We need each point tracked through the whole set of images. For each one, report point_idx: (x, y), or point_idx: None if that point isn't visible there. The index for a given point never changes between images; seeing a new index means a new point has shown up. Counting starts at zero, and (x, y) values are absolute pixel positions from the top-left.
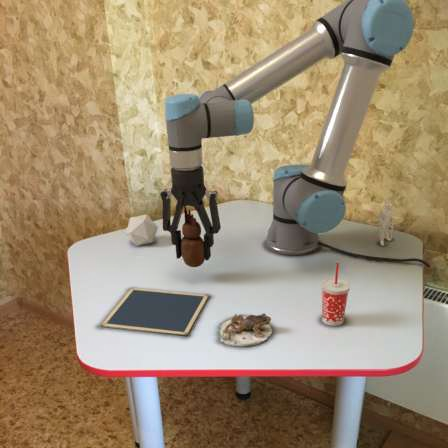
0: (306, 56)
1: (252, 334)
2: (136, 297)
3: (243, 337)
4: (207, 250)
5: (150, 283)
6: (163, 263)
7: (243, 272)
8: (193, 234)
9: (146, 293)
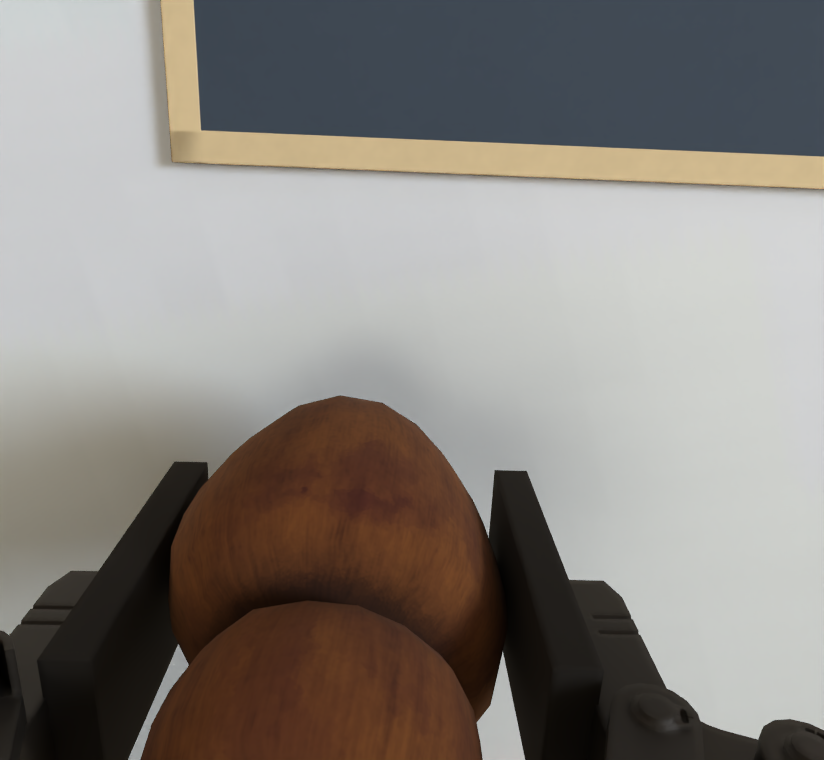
0: None
1: None
2: (795, 12)
3: None
4: (132, 522)
5: (714, 314)
6: (673, 629)
7: (47, 577)
8: (233, 641)
9: (716, 106)
